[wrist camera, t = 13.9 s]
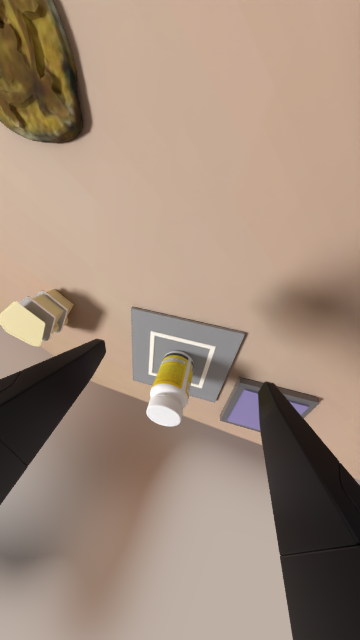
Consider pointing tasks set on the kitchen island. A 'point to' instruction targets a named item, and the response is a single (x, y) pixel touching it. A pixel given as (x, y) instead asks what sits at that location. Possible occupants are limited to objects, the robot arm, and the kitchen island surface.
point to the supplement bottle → (171, 389)
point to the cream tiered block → (36, 317)
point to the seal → (37, 73)
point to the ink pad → (246, 408)
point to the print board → (183, 349)
